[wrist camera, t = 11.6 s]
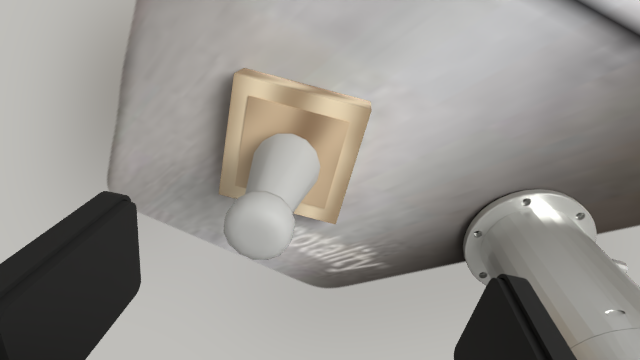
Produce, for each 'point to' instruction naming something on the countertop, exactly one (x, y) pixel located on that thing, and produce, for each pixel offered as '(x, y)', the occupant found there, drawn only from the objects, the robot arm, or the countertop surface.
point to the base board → (302, 120)
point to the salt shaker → (272, 196)
